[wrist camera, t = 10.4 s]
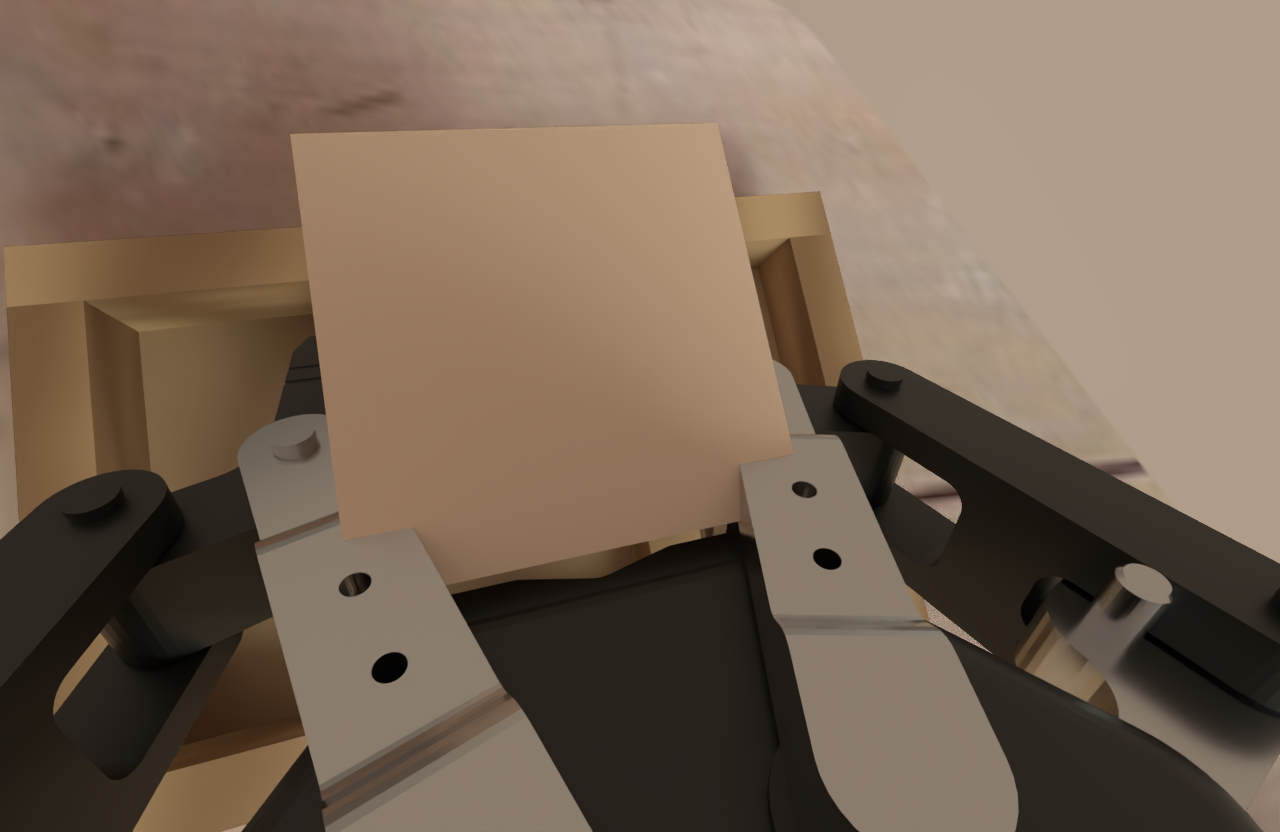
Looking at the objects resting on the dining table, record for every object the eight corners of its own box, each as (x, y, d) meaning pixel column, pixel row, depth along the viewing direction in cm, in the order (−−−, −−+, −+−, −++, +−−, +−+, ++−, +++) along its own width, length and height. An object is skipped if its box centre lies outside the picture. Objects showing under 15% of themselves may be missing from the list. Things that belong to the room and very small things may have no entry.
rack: (776, 236, 23) (819, 191, 20) (867, 610, 21) (929, 623, 18) (88, 296, 18) (3, 247, 14) (128, 815, 16) (40, 885, 13)
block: (579, 365, 18) (717, 122, 7) (608, 521, 17) (806, 507, 7) (414, 387, 16) (289, 134, 6) (440, 555, 16) (350, 606, 5)
